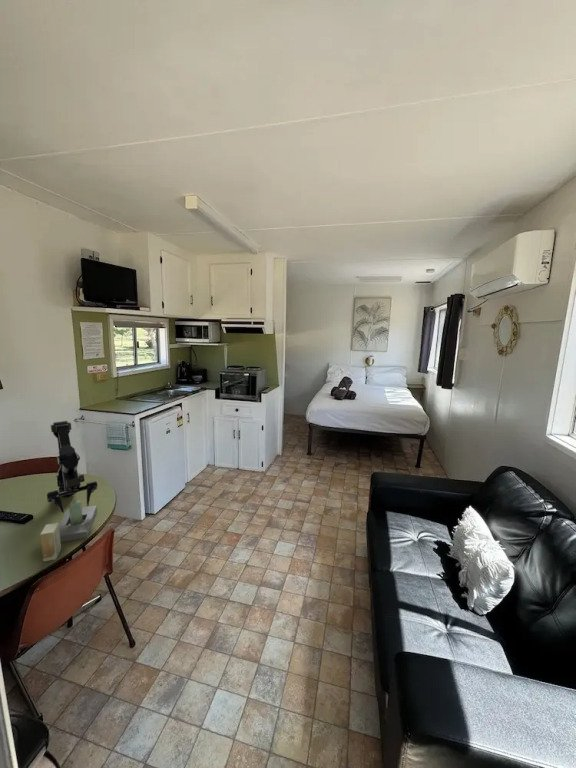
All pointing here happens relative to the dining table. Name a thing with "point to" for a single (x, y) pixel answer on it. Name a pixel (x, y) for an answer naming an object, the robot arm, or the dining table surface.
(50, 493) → the robot arm
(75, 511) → the sage peg
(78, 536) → the holder block
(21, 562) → the dining table surface
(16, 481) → the dining table surface
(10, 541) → the dining table surface
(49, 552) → the skincare box
